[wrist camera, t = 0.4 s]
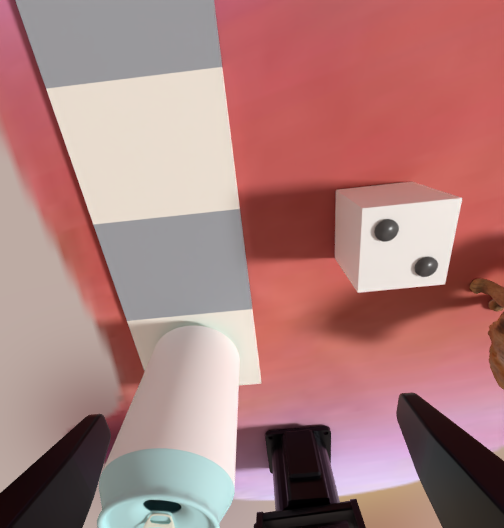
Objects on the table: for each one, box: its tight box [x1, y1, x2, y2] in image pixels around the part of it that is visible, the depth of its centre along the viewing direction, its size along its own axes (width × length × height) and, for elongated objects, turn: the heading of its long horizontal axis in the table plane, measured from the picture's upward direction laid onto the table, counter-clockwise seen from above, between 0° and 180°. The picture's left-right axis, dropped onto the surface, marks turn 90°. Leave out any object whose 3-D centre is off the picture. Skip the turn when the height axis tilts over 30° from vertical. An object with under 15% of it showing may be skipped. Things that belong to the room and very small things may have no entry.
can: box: [97, 326, 240, 528], centre depth 19 cm, size 7×7×12 cm
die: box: [335, 182, 462, 293], centre depth 18 cm, size 5×5×5 cm
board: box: [15, 0, 261, 385], centre depth 20 cm, size 32×10×1 cm, turn 6°
